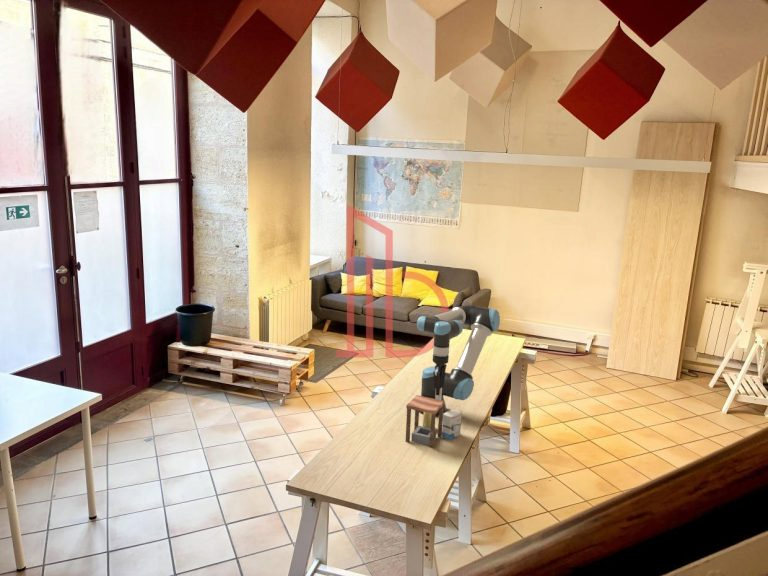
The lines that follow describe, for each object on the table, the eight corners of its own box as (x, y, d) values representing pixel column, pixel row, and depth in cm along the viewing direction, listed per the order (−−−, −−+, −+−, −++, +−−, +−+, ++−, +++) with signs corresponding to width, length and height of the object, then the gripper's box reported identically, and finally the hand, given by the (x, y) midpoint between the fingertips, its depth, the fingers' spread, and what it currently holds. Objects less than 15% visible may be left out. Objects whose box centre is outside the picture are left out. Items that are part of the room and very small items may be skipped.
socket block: (418, 433, 289) (418, 425, 288) (435, 437, 285) (436, 429, 284) (411, 441, 281) (411, 433, 280) (429, 445, 277) (429, 437, 276)
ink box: (449, 440, 283) (450, 417, 280) (441, 436, 287) (442, 413, 284) (460, 434, 289) (462, 412, 286) (452, 431, 292) (453, 408, 290)
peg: (424, 424, 298) (425, 398, 295) (432, 426, 296) (433, 400, 293) (421, 428, 294) (423, 401, 291) (429, 429, 293) (430, 403, 290)
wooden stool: (414, 430, 291) (416, 395, 287) (442, 436, 286) (444, 400, 282) (404, 441, 280) (406, 405, 276) (433, 448, 274) (435, 411, 270)
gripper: (437, 348, 292) (435, 394, 297) (428, 356, 280) (426, 403, 285) (452, 351, 289) (449, 397, 294) (444, 359, 277) (441, 406, 283)
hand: (438, 400), depth 290 cm, fingers closed
